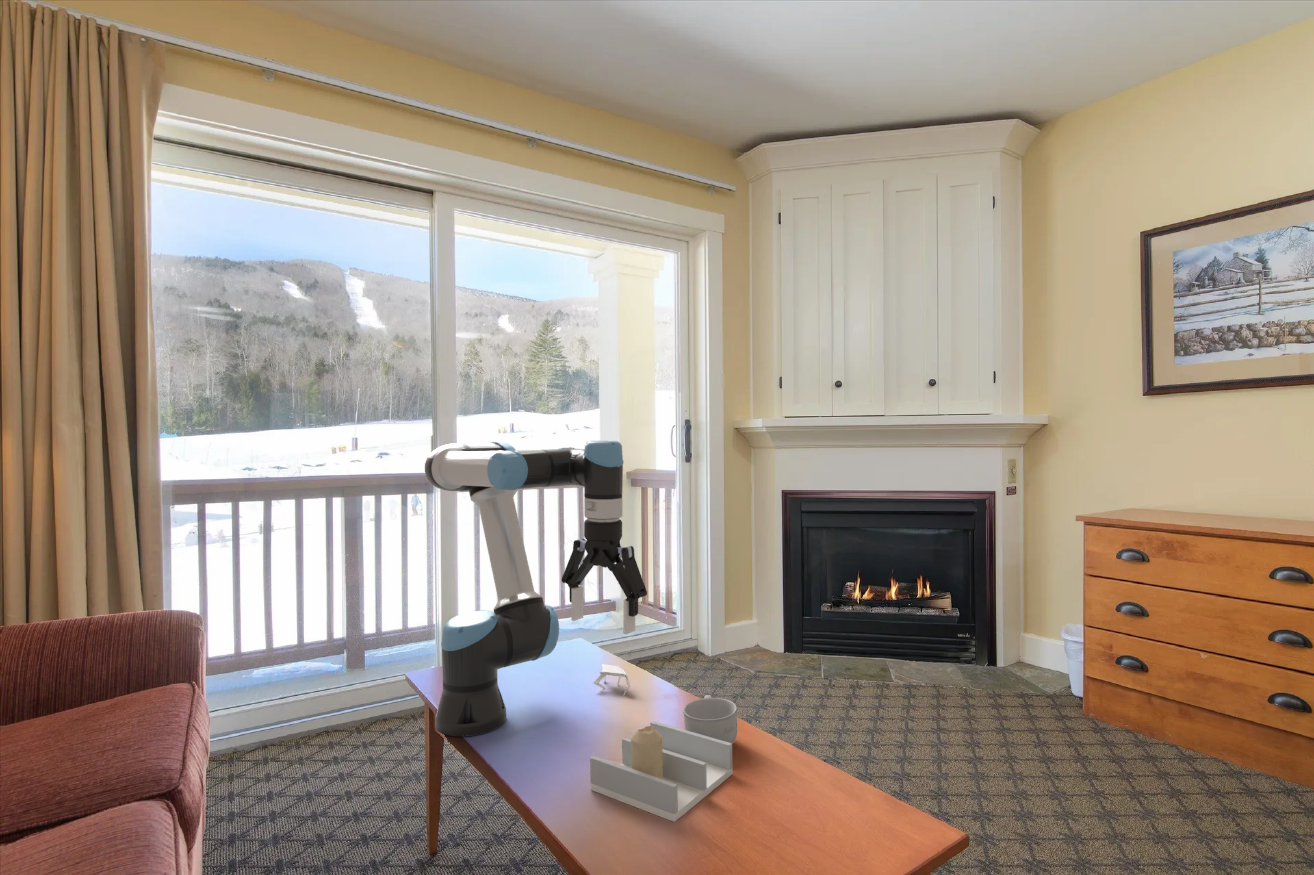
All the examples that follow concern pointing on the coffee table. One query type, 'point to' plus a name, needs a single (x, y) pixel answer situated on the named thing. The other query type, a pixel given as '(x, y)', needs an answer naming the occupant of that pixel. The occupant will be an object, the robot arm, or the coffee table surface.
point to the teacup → (712, 718)
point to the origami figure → (614, 672)
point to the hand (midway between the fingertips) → (602, 625)
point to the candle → (647, 752)
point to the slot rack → (666, 773)
